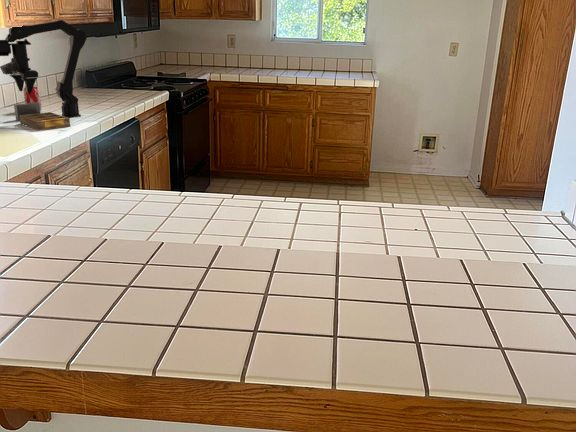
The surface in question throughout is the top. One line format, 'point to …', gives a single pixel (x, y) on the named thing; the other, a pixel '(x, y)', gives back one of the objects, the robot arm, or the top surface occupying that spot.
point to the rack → (44, 121)
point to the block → (26, 109)
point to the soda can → (32, 96)
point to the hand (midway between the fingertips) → (25, 92)
